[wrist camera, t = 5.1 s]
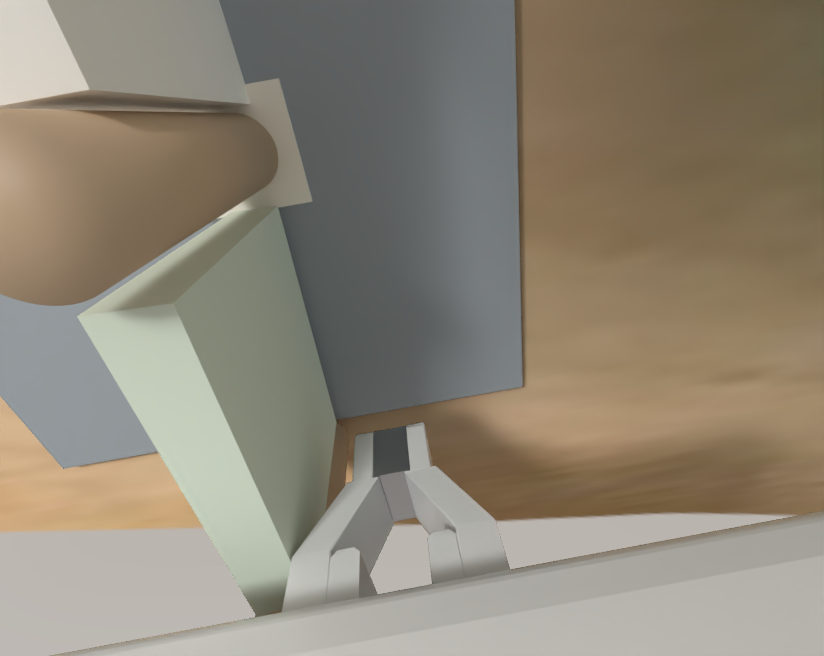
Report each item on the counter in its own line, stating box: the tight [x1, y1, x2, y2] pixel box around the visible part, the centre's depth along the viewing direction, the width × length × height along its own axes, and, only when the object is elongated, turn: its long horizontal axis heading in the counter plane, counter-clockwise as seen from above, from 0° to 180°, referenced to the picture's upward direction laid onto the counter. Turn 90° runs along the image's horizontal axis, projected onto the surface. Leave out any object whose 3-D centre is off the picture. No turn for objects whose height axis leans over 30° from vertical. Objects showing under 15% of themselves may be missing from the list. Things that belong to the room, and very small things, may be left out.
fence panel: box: [77, 206, 349, 617], centre depth 9 cm, size 9×2×7 cm, turn 6°
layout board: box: [0, 0, 523, 469], centre depth 10 cm, size 19×17×1 cm
